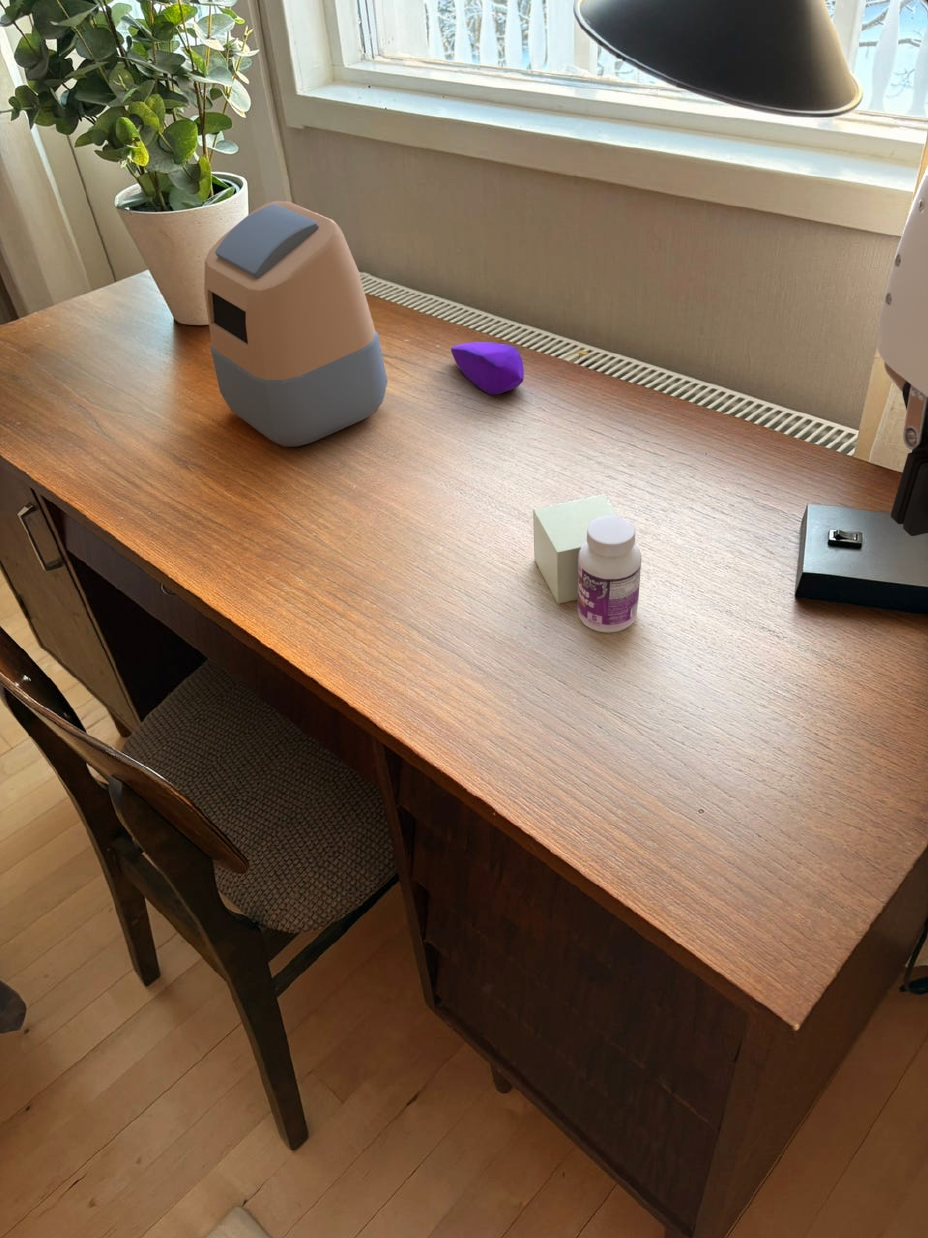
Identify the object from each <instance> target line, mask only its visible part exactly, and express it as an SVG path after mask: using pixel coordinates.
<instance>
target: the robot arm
mask: <svg viewBox="0 0 928 1238" xmlns="http://www.w3.org/2000/svg"><path fill="white" fill-rule="evenodd" d="M880 310H881V311H880V314H879V321H878V327H877V328H878V329H877V336H876V348H877V352H878V354H879V356H880V358H881V359H882V361H883V362H884V363H883V366H884V370H885V372H886V374H887V375H888V376H889V377H890V379H891V380H892V381H893V383H894V384H895V385H896V386H897V388H898V389H899V391H900V392H901V394H902V398H903V403H904V406H905V410H906V413H905V418H904V425H903V431H902V439H903V440H902V441H903V444H904V445H905V447H906V448H907V449H908V450H911V452H908V453H907V456H906V459H905V462H904V465H903V470H902V472H901V477H900V481H899V483H898V487H897V491H896V495H895V498H894V503H893V505H892V507H891V512H890V518H891V519H892V520H893V521H894V522H896V524H897V525H902V529H903V530H904V531H905V533H907V534H908V535H909V536H910V537H916V536H921V535H925V534H928V166H927V167H926V170H925V171H924V173H923V176H922V179H921V182H920V184H919V187H918V189H917V191H916V194H915V197H914V200H913V202H912V205H911V208H910V211H909V214H908V216H907V219H906V222H905V225H904V228H903V230H902V234H901V237H900V240H899V242H898V246H897V249H896V252H895V256H894V260H893V262H892V266H891V270H890V273H889V277H888V282H887V285H886V289H885V292H884V296H883V301H882V305H881V309H880Z"/></svg>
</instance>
